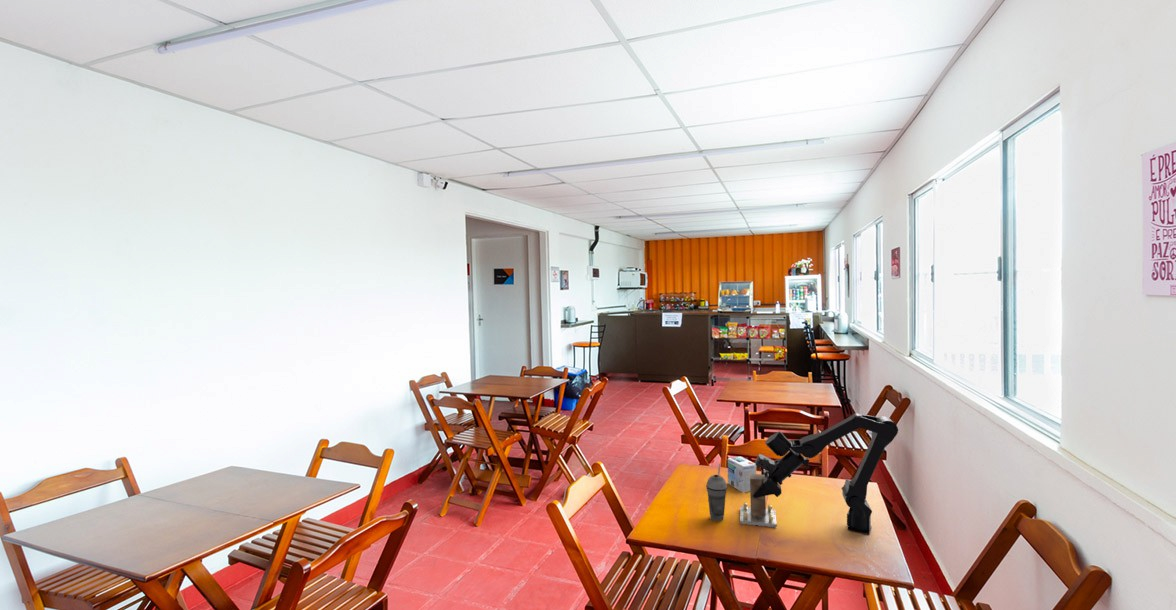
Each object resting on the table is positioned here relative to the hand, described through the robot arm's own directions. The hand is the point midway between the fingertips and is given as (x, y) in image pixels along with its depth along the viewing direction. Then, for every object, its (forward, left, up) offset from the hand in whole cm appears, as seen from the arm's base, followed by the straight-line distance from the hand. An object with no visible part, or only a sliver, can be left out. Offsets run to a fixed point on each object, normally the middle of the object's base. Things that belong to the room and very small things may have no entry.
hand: (753, 493), depth 188 cm
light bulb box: (+13, -25, -9) cm, 30 cm away
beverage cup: (+11, +8, -9) cm, 16 cm away
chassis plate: (-1, 0, -9) cm, 9 cm away
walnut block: (-1, -1, -7) cm, 7 cm away
